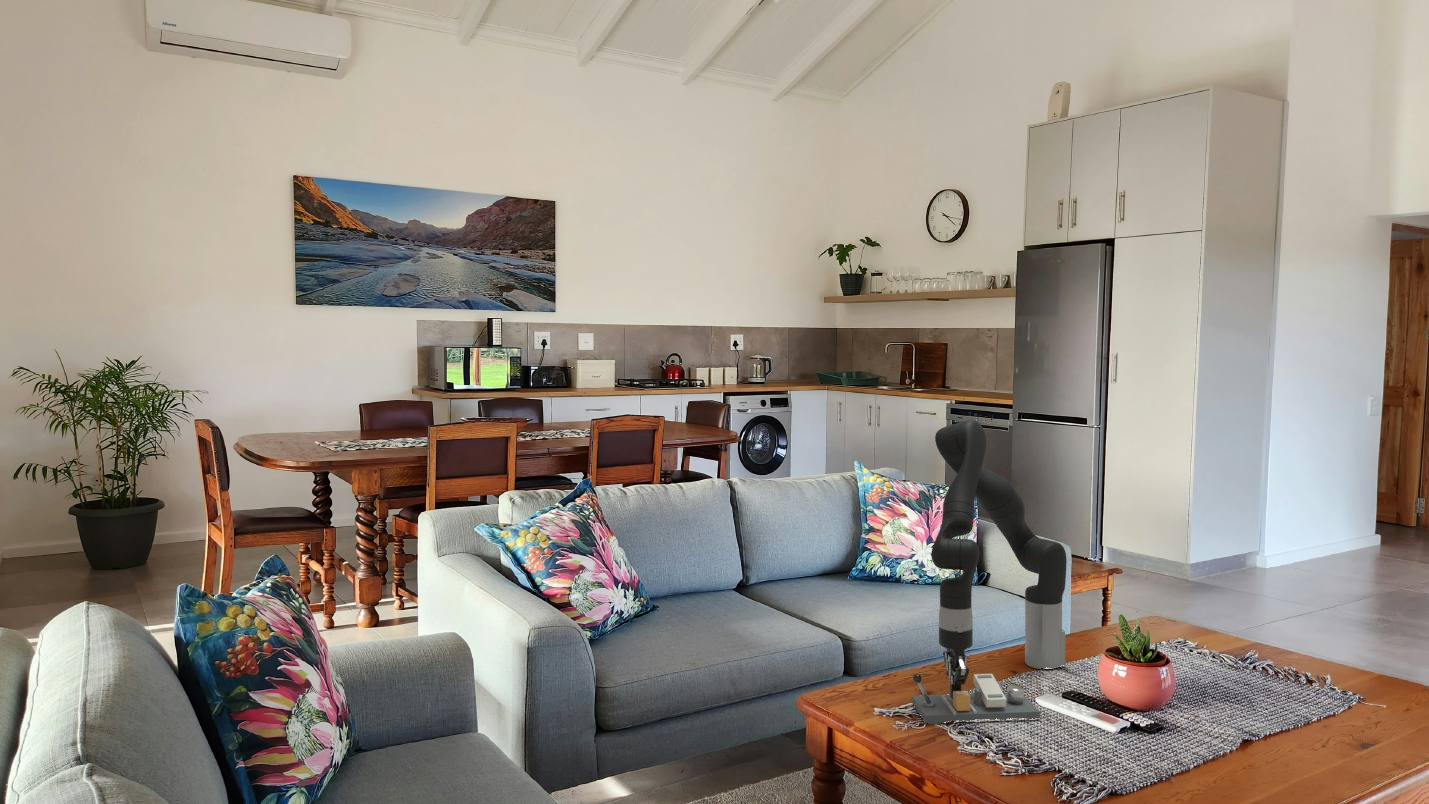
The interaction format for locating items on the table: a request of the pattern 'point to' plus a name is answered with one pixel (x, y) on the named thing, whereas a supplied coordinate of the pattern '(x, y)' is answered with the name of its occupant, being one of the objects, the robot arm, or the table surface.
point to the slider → (961, 700)
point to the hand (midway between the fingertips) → (955, 698)
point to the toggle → (921, 687)
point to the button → (1015, 694)
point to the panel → (945, 711)
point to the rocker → (989, 690)
